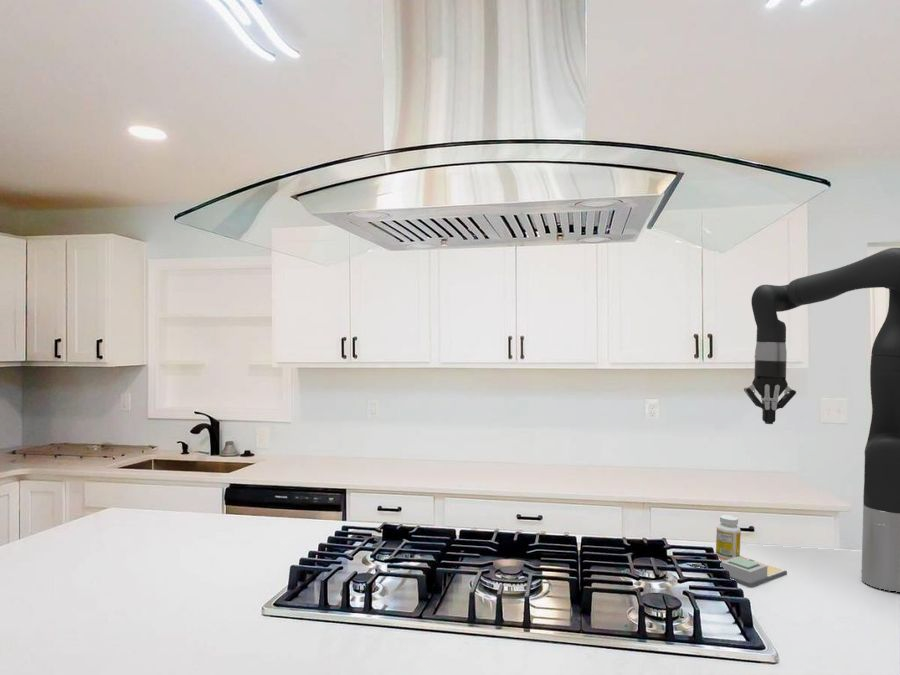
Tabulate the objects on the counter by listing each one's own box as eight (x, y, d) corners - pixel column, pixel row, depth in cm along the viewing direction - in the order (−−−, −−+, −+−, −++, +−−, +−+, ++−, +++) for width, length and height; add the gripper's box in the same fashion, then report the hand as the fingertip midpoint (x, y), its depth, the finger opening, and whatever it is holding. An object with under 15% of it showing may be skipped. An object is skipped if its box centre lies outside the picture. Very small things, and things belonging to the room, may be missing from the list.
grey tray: (786, 574, 142) (787, 560, 142) (751, 587, 134) (751, 572, 134) (722, 553, 155) (722, 540, 155) (686, 564, 147) (686, 550, 147)
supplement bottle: (723, 560, 147) (724, 520, 147) (711, 552, 152) (712, 514, 152) (744, 560, 148) (745, 520, 148) (732, 552, 153) (733, 514, 153)
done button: (758, 574, 138) (758, 563, 138) (747, 578, 136) (747, 567, 136) (739, 568, 142) (740, 557, 142) (728, 572, 139) (729, 561, 139)
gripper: (748, 358, 163) (746, 424, 162) (802, 360, 160) (800, 427, 160) (740, 358, 170) (738, 420, 170) (792, 359, 167) (790, 423, 167)
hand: (768, 423), depth 165 cm, fingers closed
